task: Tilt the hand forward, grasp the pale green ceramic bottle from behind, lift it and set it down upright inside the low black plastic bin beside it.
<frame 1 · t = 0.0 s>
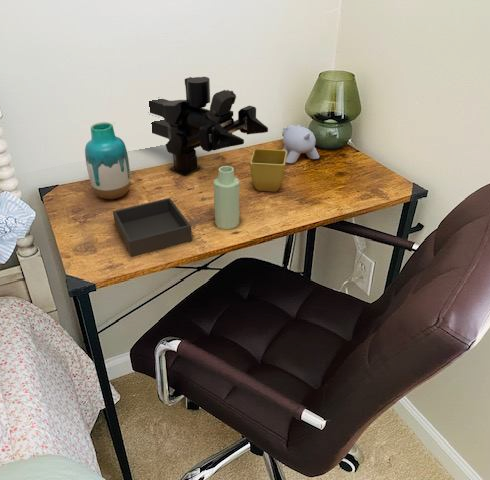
hand: (255, 135, 117), 17 cm above the table, tool horizontal, fingers open, 9 cm apart
bottle: (227, 222, 116), on the table
flower pot: (267, 188, 130), on the table
bin: (152, 232, 114), on the table
vase: (113, 195, 129), on the table
hippopotamus toy: (296, 155, 146), on the table
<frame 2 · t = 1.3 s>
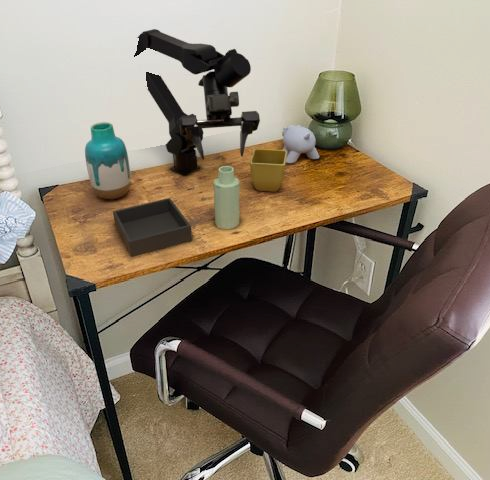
hand: (222, 157, 115), 13 cm above the table, tool tilted 45°, fingers open, 9 cm apart
nothing on the table moved.
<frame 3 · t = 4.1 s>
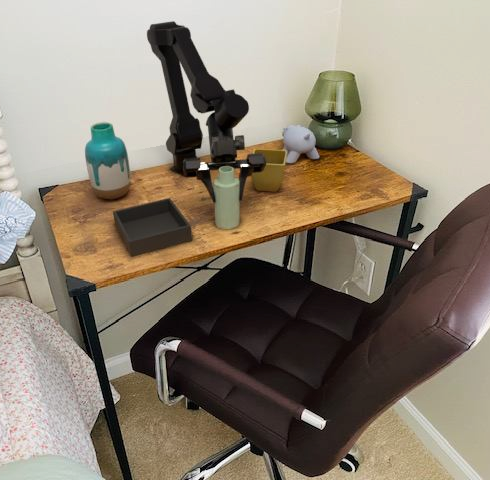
hand: (227, 201, 111), 7 cm above the table, tool tilted 45°, fingers closed on bottle, 6 cm apart
bottle: (227, 222, 116), on the table, touching gripper
everything else where it was.
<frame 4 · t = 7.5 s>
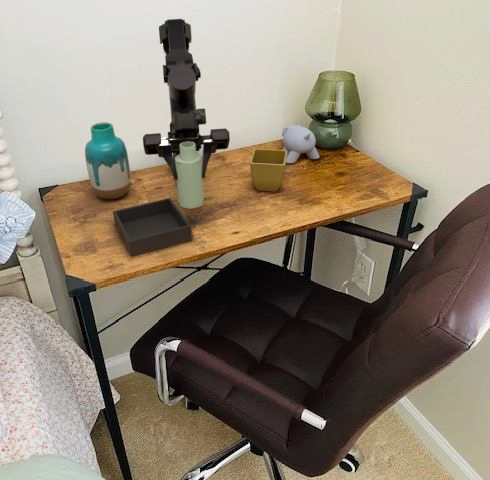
hand: (189, 178, 106), 13 cm above the table, tool tilted 45°, fingers closed on bottle, 6 cm apart
bottle: (191, 202, 111), point 7 cm above the table, touching gripper
everything else where it was.
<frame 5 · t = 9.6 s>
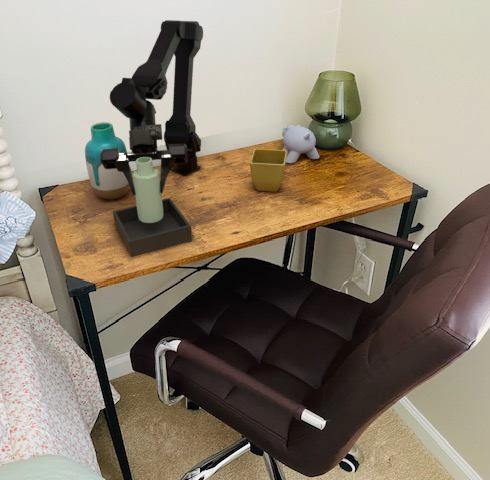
hand: (147, 193, 106), 11 cm above the table, tool tilted 45°, fingers closed on bottle, 6 cm apart
bottle: (151, 216, 111), point 4 cm above the table, touching gripper
everything else where it was.
when the fingers open (7 cm above the table, at t = 11.2 s): bottle stays where it is, resting on bin.
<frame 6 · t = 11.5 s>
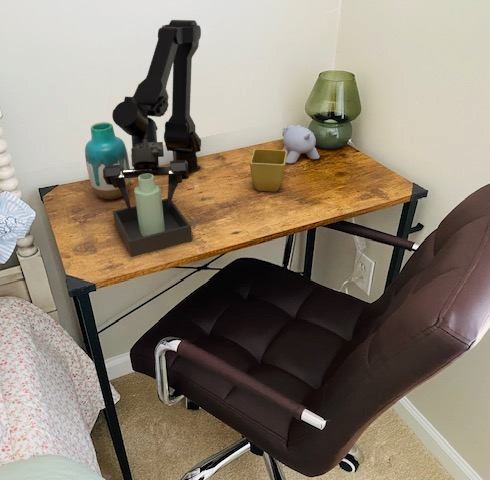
hand: (149, 209, 108), 7 cm above the table, tool tilted 45°, fingers open, 8 cm apart
bottle: (152, 231, 113), resting on bin
everything else where it was.
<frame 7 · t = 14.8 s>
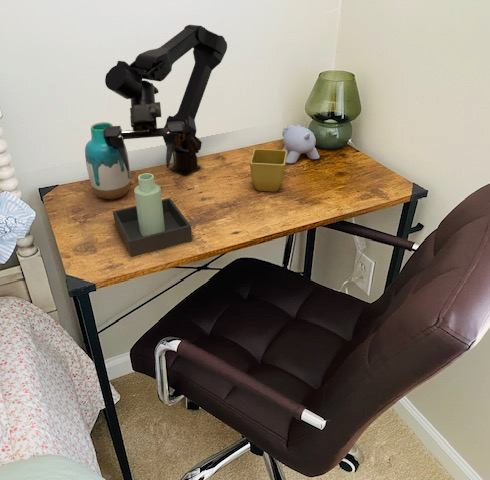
hand: (147, 168, 113), 13 cm above the table, tool tilted 45°, fingers open, 9 cm apart
nothing on the table moved.
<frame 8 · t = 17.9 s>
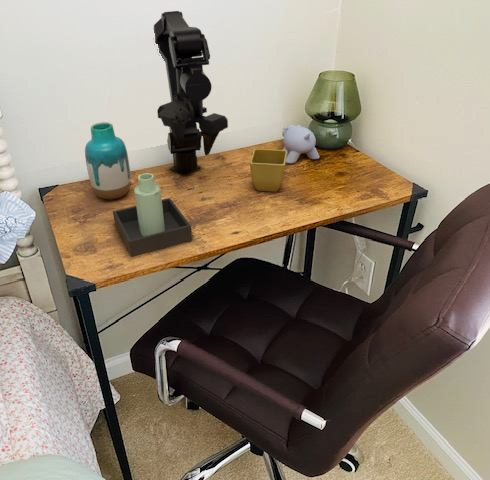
hand: (193, 150, 122), 12 cm above the table, tool pointing down, fingers open, 9 cm apart
nothing on the table moved.
at the end: bottle inside the target area in the bin (0.1 cm from its centre), point 0.5 cm above the bin's base; bottle tilted 0°; the gripper is holding nothing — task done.
